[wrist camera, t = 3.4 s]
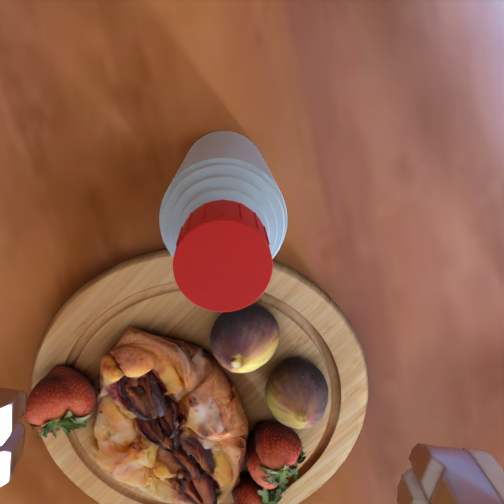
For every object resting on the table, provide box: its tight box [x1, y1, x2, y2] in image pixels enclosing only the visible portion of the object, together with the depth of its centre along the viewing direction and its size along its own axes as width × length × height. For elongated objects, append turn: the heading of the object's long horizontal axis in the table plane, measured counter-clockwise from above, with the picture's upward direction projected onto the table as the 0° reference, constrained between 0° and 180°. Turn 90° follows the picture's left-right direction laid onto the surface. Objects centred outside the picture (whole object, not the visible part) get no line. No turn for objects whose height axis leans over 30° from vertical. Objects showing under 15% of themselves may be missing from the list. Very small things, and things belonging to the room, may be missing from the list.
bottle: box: [159, 131, 287, 259], centre depth 29 cm, size 7×7×21 cm
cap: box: [173, 199, 273, 312], centre depth 20 cm, size 4×4×3 cm
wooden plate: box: [24, 248, 368, 504], centre depth 42 cm, size 32×32×8 cm
